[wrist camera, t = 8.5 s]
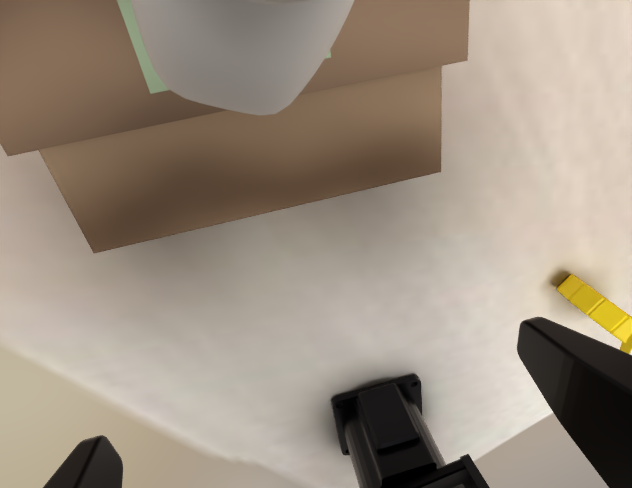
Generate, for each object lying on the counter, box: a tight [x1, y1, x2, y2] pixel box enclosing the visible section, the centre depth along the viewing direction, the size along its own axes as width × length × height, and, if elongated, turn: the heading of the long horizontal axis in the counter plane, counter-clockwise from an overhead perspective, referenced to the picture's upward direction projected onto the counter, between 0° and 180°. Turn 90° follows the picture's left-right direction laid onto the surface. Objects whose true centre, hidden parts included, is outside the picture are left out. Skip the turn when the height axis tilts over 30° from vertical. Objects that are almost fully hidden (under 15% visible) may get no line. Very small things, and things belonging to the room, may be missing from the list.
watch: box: [557, 274, 632, 355], centre depth 25 cm, size 6×3×6 cm, turn 56°
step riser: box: [0, 0, 469, 253], centre depth 14 cm, size 14×16×4 cm
